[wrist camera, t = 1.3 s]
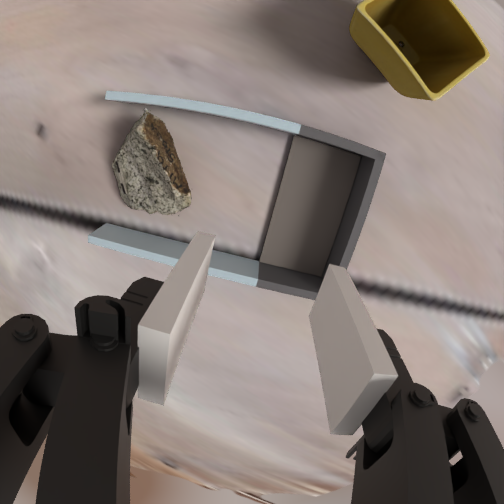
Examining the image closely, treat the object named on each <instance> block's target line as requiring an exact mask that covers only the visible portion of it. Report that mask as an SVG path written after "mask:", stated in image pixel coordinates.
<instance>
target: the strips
mask: <svg viewBox="0 0 504 504" xmlns="http://www.w3.org/2000/svg"><path fill="white" fill-rule="evenodd" d="M105 100H112V101H119V102H126V103H136V104H144V105H153V106H160V107H167V108H174V109H181V110H187V111H193V112H199V113H204V114H210V115H215V116H220V117H225V118H230V119H234V120H239V121H243V122H248V123H252V124H256V125H260V126H265V127H269V128H273V129H276V130H280V131H284V132H288V133H291V134H299V131H300V128H301V124H297V123H294V122H290V121H286V120H283V119H279V118H275V117H271V116H267V115H263V114H259V113H254V112H250V111H246V110H241V109H237V108H232V107H227V106H222V105H217V104H211V103H206V102H200V101H194V100H187V99H181V98H174V97H166V96H159V95H150V94H140V93H130V92H117V91H106V96H105ZM88 243H91V244H95V245H98V246H102V247H105V248H109V249H112V250H116V251H119V252H123V253H127V254H130V255H134V256H137V257H141V258H145V259H149V260H152V261H156V262H160V263H164V264H167V265H171V266H175V265H176V263H177V262H178V260H179V259H180V257H181V256H182V254H183V253H184V251H185V250H186V248H187V247H188V245H189V244H188V243H184V242H180V241H176V240H172V239H168V238H164V237H160V236H156V235H152V234H148V233H144V232H140V231H136V230H132V229H128V228H124V227H120V226H116V225H112V224H108V223H106V224H104V225H103V226H101V227H100V228H98V229H97V230H95V231H94V232H92V233H91V234H89V235H88ZM258 273H259V261H257V260H253V259H249V258H245V257H240V256H236V255H232V254H228V253H224V252H220V251H216V250H212V255H211V260H210V265H209V269H208V274H207V275H210V276H214V277H218V278H222V279H226V280H230V281H234V282H239V283H243V284H247V285H251V286H255V287H256V285H257V281H258Z"/></svg>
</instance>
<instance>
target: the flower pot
mask: <svg viewBox="0 0 504 504" xmlns="http://www.w3.org/2000/svg"><path fill="white" fill-rule="evenodd" d="M349 31H350V34H351V37H352V38H353V40H354V41H355V42H356V44H357V45H358V46H359V47H360V48H361V49H362V50H363V51H364V53H365V54H366V55H367V56H368V57H369V58H370V60H371V61H372V62H373V63H374V64H375V66H376V67H377V68H378V69H379V70H380V72H381V73H382V74H383V76H384V77H385V78H386V79H387V81H388V82H389V83H390V85H391V86H392V87H393V88H394V89H395V90H396V91H397V92H398V93H400V94H401V95H403V96H406V97H410V98H416V99H425V100H432V101H435V100H437V99H439V98H440V97H442V96H443V95H444V94H445V93H446V92H448V91H449V90H450V89H451V88H453V87H454V86H455V85H456V84H457V83H459V82H460V81H461V80H462V79H464V78H465V77H466V76H467V75H469V74H470V73H471V72H472V71H474V70H475V69H476V68H477V67H479V66H480V65H482V64H483V63H484V62H485V61H486V60H487V59H488V58H489V56H490V54H489V52H488V50H487V48H486V47H485V45H484V43H483V42H482V40H481V39H480V37H479V36H478V34H477V33H476V32H475V30H474V29H473V27H472V26H471V25H470V23H469V22H468V20H467V19H466V18H465V16H464V15H463V14H462V13H461V11H460V10H459V9H458V7H457V6H456V5H455V4H454V2H453V1H452V0H364V1H362V2H360V3H359V4H358V5H357V6H356V9H355V11H354V14H353V17H352V20H351V23H350V26H349ZM399 42H402V43H403V45H404V46H403V47H401V46H400V45H399Z"/></svg>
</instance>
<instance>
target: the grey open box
mask: <svg viewBox="0 0 504 504" xmlns="http://www.w3.org/2000/svg"><path fill="white" fill-rule="evenodd" d="M295 135H298V136H302V137H305V138H309V139H312V140H315V141H319V142H322V143H325V144H328V145H331V146H334V147H331V146H328V145H325V144H322V143H319V142H315V141H312V140H309V139H305V138H302V137H298V136H295ZM295 135H294V137H293V140H292V144H291V148H290V151H289V155H288V159H287V162H286V166H285V170H284V173H283V177H282V181H281V184H280V188H279V192H278V195H277V199H276V203H275V206H274V210H273V213H272V217H271V221H270V224H269V228H268V231H267V235H266V239H265V242H264V246H263V249H262V253H261V256H260V260H259V273H258V281H257V285H256V287H260V288H264V289H268V290H272V291H277V292H281V293H285V294H290V295H294V296H299V297H303V298H308V299H312V300H316V297H317V295H318V292H319V290H320V287H321V284H322V282H323V279H324V277H325V274H326V271H327V269H328V266H329V264H332V265H336V266H340V267H344V268H346V270H347V267H348V265H349V262H350V260H351V257H352V254H353V252H354V249H355V246H356V244H357V241H358V238H359V236H360V233H361V230H362V227H363V224H364V222H365V219H366V216H367V213H368V210H369V207H370V204H371V201H372V198H373V195H374V192H375V189H376V186H377V183H378V179H379V176H380V173H381V170H382V166H383V163H384V160H385V156H386V153H383V152H381V151H378V150H376V149H373V148H370V147H368V146H365V145H362V144H359V143H357V142H354V141H351V140H348V139H345V138H342V137H339V136H336V135H333V134H330V133H327V132H324V131H321V130H317V129H314V128H311V127H308V126H304V125H301V128H300V131H299V134H295ZM335 147H338V148H341V149H344V150H346V151H344V150H341V149H338V148H335ZM347 151H349V152H347ZM350 152H352V153H355V154H358V155H361V156H358V155H355V154H352V153H350Z"/></svg>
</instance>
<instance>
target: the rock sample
mask: <svg viewBox="0 0 504 504" xmlns="http://www.w3.org/2000/svg"><path fill="white" fill-rule="evenodd" d="M147 111H149V110H148V109H147V108H144V114H143V116H142V117H141V118H140V119H139V120H138V121H137V122H136V123H135V124H134V126H133V128H132V129H131V130H130V133H129V134H128V135H127V137H126V139H125V141H124V143H123V145H122V147H121V149H120V150H119V152H118V153H117V155H116V158H115V160H114V161H113V163H112V168H113V170H114V174H115V176H116V179H117V181H118V188H119V190H120V196H121V197H122V199H123V200H124V202H125V203H126V204H127V206H128V207H130V208H131V209H136V210H145V211H147V212H148V213H149V214H152V213H155V212H159V213H161V214H164V215H169V214H175V213H176V212H179V211H181V210H183V209H184V208H187V207H189V205H190V204H191V199H192V198H191V191H190V189H189V187H188V183H187V180H186V177H185V174H184V172H183V168H182V166H181V163H180V160H179V158H178V156H177V153H176V149H175V147H174V143H173V139H172V137H171V135H170V132H168V130H167V129H166V127H167V126H165V123H163V121H161V119H160V118H157V117H156V116H153V115H152V114H150V113H149V112H147ZM150 111H151V110H150ZM178 216H179V215H178Z"/></svg>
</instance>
